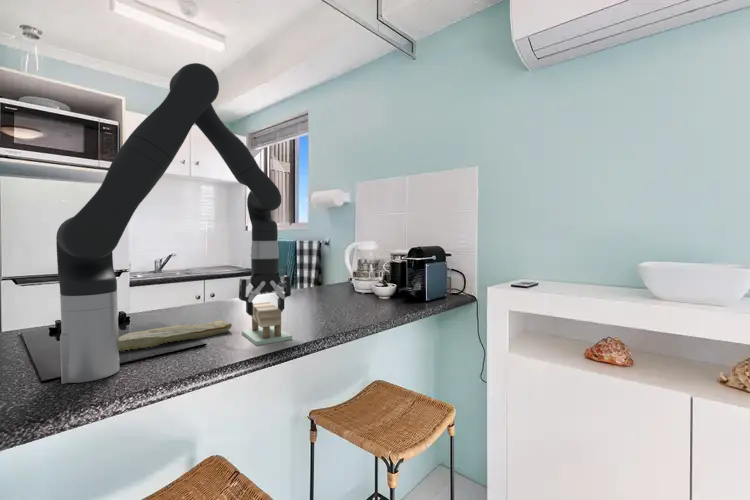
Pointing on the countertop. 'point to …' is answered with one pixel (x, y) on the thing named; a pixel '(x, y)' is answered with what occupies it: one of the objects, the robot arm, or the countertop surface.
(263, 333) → the peg stand
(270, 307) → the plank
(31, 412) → the countertop surface
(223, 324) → the stone slab
